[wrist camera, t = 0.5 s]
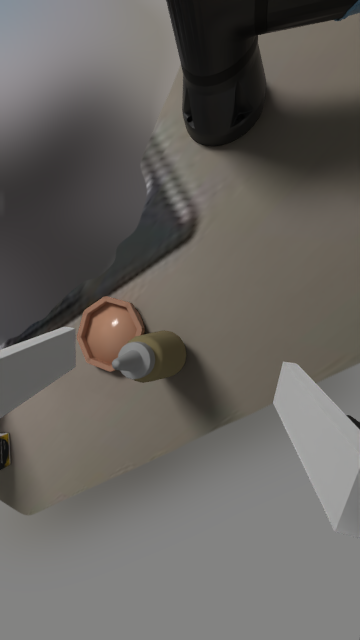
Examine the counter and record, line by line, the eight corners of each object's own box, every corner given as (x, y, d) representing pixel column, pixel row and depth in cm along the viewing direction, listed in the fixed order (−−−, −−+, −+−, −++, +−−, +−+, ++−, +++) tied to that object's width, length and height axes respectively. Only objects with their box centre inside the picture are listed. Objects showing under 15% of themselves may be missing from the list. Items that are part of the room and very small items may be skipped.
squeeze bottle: (182, 381, 39) (134, 417, 22) (145, 363, 41) (75, 382, 24) (197, 340, 38) (162, 344, 21) (160, 324, 41) (100, 316, 24)
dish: (96, 293, 46) (89, 291, 43) (152, 309, 41) (148, 307, 39) (79, 355, 46) (71, 356, 44) (134, 377, 42) (128, 379, 39)
